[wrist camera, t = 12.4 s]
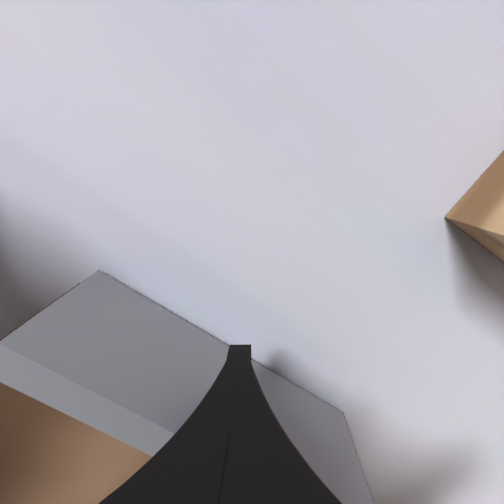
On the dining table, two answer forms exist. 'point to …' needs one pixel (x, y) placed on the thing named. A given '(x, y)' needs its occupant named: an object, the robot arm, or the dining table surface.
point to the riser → (484, 210)
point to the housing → (57, 454)
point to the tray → (157, 378)
